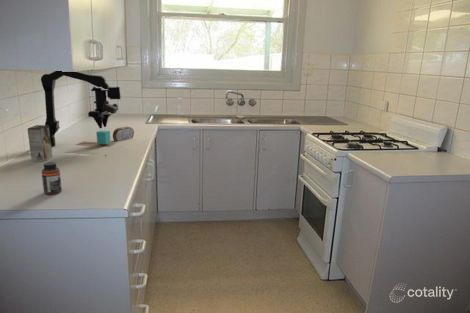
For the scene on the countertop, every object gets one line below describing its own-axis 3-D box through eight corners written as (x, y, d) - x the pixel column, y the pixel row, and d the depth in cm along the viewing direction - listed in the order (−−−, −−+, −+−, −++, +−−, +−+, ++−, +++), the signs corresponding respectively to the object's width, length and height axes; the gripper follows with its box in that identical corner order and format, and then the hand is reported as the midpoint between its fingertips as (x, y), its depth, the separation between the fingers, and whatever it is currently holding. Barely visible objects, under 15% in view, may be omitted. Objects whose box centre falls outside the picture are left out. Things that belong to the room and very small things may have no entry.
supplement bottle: (43, 191, 135) (40, 161, 132) (60, 188, 138) (58, 160, 135) (44, 196, 130) (41, 166, 128) (62, 193, 133) (59, 164, 130)
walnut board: (108, 149, 200) (108, 147, 199) (75, 146, 202) (74, 144, 202) (116, 145, 208) (116, 143, 208) (83, 143, 211) (83, 141, 211)
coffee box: (39, 156, 181) (36, 124, 177) (52, 156, 182) (49, 125, 178) (30, 161, 172) (26, 128, 168) (44, 161, 173) (41, 128, 169)
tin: (131, 138, 227) (130, 125, 225) (135, 139, 226) (134, 126, 224) (112, 142, 215) (111, 128, 213) (116, 143, 213) (115, 129, 211)
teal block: (106, 144, 201) (105, 132, 200) (97, 143, 202) (96, 132, 200) (110, 142, 206) (109, 130, 205) (101, 141, 207) (101, 130, 205)
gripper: (106, 101, 188) (108, 131, 192) (122, 98, 206) (124, 125, 210) (86, 100, 189) (88, 130, 193) (104, 97, 207) (105, 124, 211)
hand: (102, 127), depth 202 cm, fingers open, 4 cm apart
